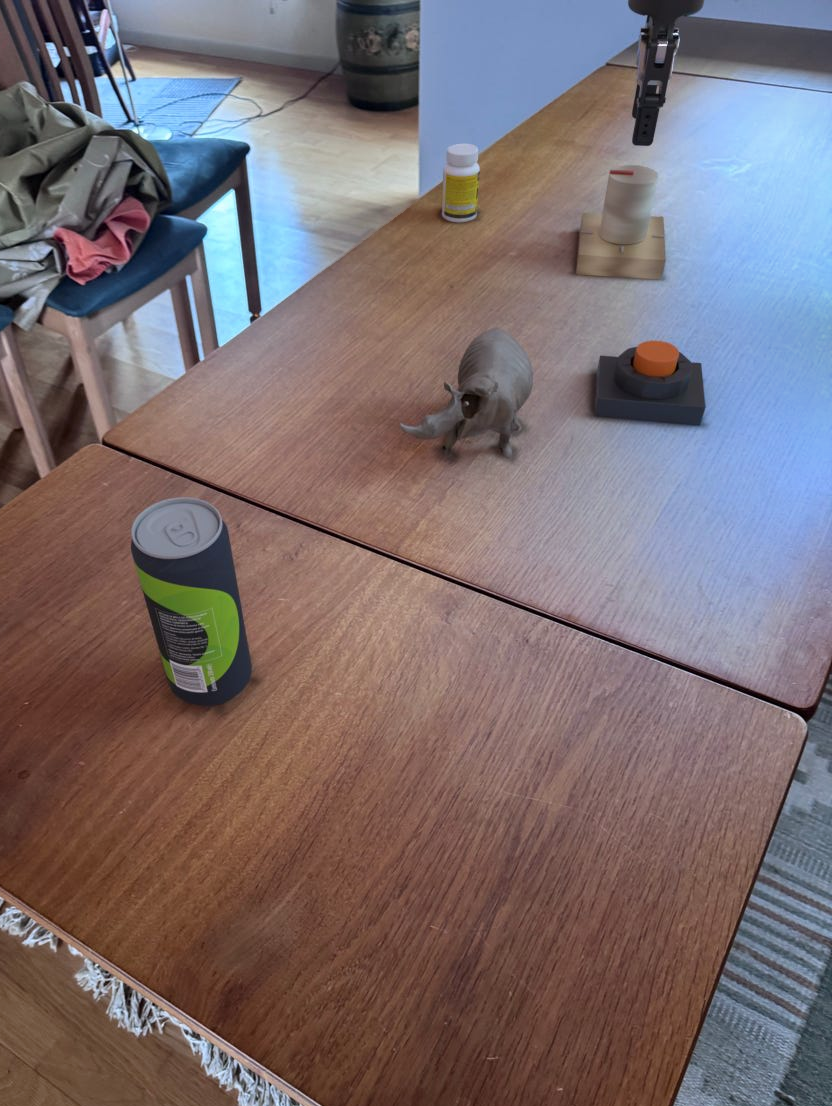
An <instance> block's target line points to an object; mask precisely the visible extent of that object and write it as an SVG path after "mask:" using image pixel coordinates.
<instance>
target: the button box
mask: <svg viewBox="0 0 832 1106" xmlns="http://www.w3.org/2000/svg"><path fill="white" fill-rule="evenodd" d="M636 348H637V346H632V347H628V348H627V349H625V350H624V351H623V352H622V353H621V354H620V355H618V356H614V355H613V356H612V355H599V358H598V363H597V368H596V369H597V370H596V376H595V397H594V417H595V418H604V419H617V420H627V421H628V420H629V421H640V422H651V423H661V424H663V423H664V424H674V425H688V426H697V427H698V426H699V427H700V426H701V425H702V421H703V417H704V415H705V411H706V399H705V397H706V396H705V389H704V388H705V387H704V378H703V365H702V362H695V361H693V362H692V361H691V360H690V359H689V358H688V357H687V356H686V355H684V354H683V353H682V352H680V351H679V357H678V360H677V364H676V368H675V371H674V373H673V374H671V375H668V376H663V377H659V376H648V375H645V374H642V373H640V372H637V371H636V370H635V369H634V367H633V362H634V357H635V352H636Z"/></svg>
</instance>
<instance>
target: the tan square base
mask: <svg viewBox="0 0 832 1106" xmlns="http://www.w3.org/2000/svg"><path fill="white" fill-rule="evenodd" d="M601 219H602V213H595V212H582V213H581V220H580V227H579V235H578V245H577V246H578V247H577V257H576V268H575V275H579V276H580V275H582V276H583V275H584V276H585V275H586V276H596V277H597V276H598V277H611V278H612V277H614V278H629V279H630V278H631V279H645V280H662V279H663V275H664V270H665V265H666V260H667V258H666V257H667V255H666V238H665V236H666V235H665V234H666V233H665V221H664V219H665V218H664V216H655V215H650V220H649V225H648V230H647V235H646V238H645V239H644V240H643V241H641V242H639V243H636V244H629V245H622V244H615V243H611V242H608V241H606V240H604V239H602V238H601V237H600V235H599V231H600V225H601Z"/></svg>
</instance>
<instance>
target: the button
mask: <svg viewBox="0 0 832 1106" xmlns="http://www.w3.org/2000/svg"><path fill="white" fill-rule="evenodd" d="M636 347H637V348H636V352H635V357H634V362H633V367H634V369H635V370H636V371H637V372H640V373H642V374H645V375H648V376H659V377H663V376H668V375H671V374H673V373H674V371H675V368H676V364H677V360H678V357H679V352H680V351H679V349H678V348H677V346H675V345H674V344H672V343H669V342H667V341H663V340H647V341H643V342H641V343H639V344H638V345H637V346H636Z"/></svg>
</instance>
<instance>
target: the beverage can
mask: <svg viewBox="0 0 832 1106" xmlns="http://www.w3.org/2000/svg"><path fill="white" fill-rule="evenodd" d="M130 536H131V542H130V551H131V554H132V559H133V562H134V566H135V569H136V573H137V577H138V580H139V583H140V587H141V592H142V595H143V598H144V601H145V605H146V608H147V612H148V615H149V619H150V623H151V627H152V629H153V633H154V638H155V641H156V644H157V648H158V650H159V651H158V652H159V654H160V657H161V661H162V664H163V668H164V672H165V676H166V679H167V682H168V686H169V688H170V690H171V691H172V693H173V694H174V696H176V697H177V698H179V699H180V700H181V701H183V702H185V703H188V704H191V705H195V706H200V707H213V706H215V707H216V706H219V705H222V704H225V703H227V702H229V701H231V700H232V699H234V698H235V697H236V696H238V695H239V694H240V693H241V692H243V690H245V688H246V687H247V685H248V684H249V682H250V680H251V677H252V672H253V665H252V659H251V653H250V649H249V643H248V637H247V630H246V627H245V626H246V624H245V618H244V613H243V609H242V602H241V596H240V591H239V590H240V589H239V586H238V578H237V573H236V567H235V563H234V562H235V561H234V557H233V549H232V544H231V538H230V533H229V529H228V526H227V524H226V522H225V521H224V519H223V518H222V515H221V513H220V511H219V510H218V509H217V507H215V506H214V505H213V504H211V503H210V502H208V501H206V500H203V499H200V498H196V497H188V496H180V497H172V498H171V497H170V498H167V499H163V500H160V501H158V502H155V503H153V504H151V505H149V506H148V507H146V508H145V509H143V510H142V511H141V512H140V513H139V514H138V515H137V516H136V517H135V519H134V520H133V523H132V525H131V529H130Z"/></svg>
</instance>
